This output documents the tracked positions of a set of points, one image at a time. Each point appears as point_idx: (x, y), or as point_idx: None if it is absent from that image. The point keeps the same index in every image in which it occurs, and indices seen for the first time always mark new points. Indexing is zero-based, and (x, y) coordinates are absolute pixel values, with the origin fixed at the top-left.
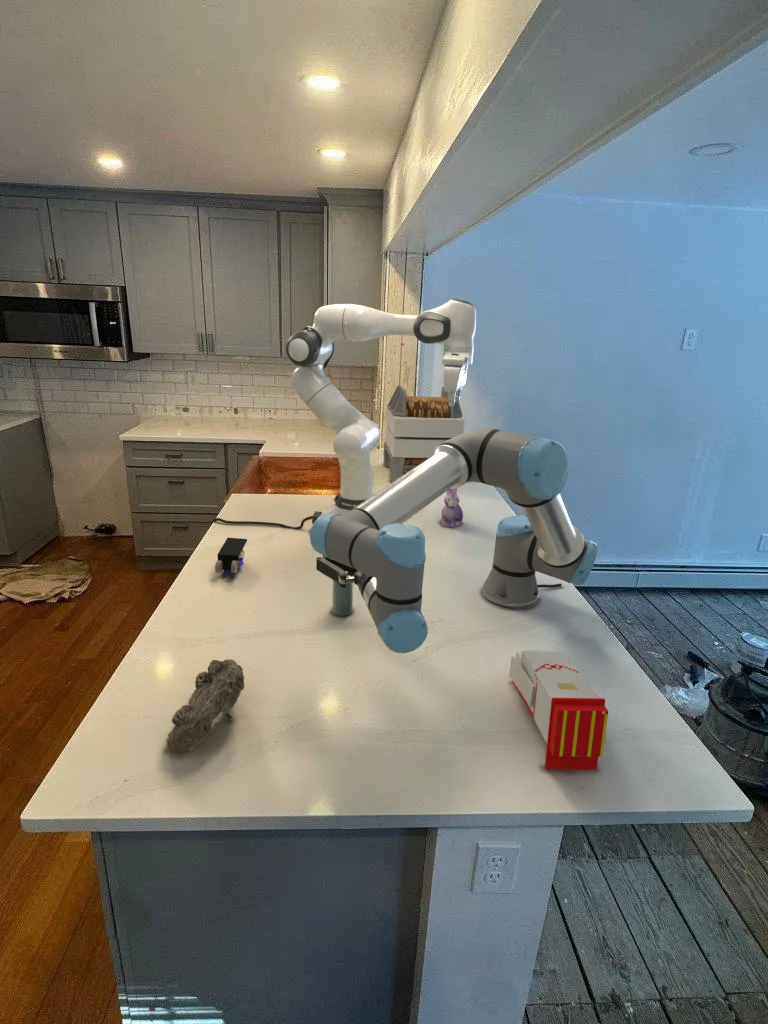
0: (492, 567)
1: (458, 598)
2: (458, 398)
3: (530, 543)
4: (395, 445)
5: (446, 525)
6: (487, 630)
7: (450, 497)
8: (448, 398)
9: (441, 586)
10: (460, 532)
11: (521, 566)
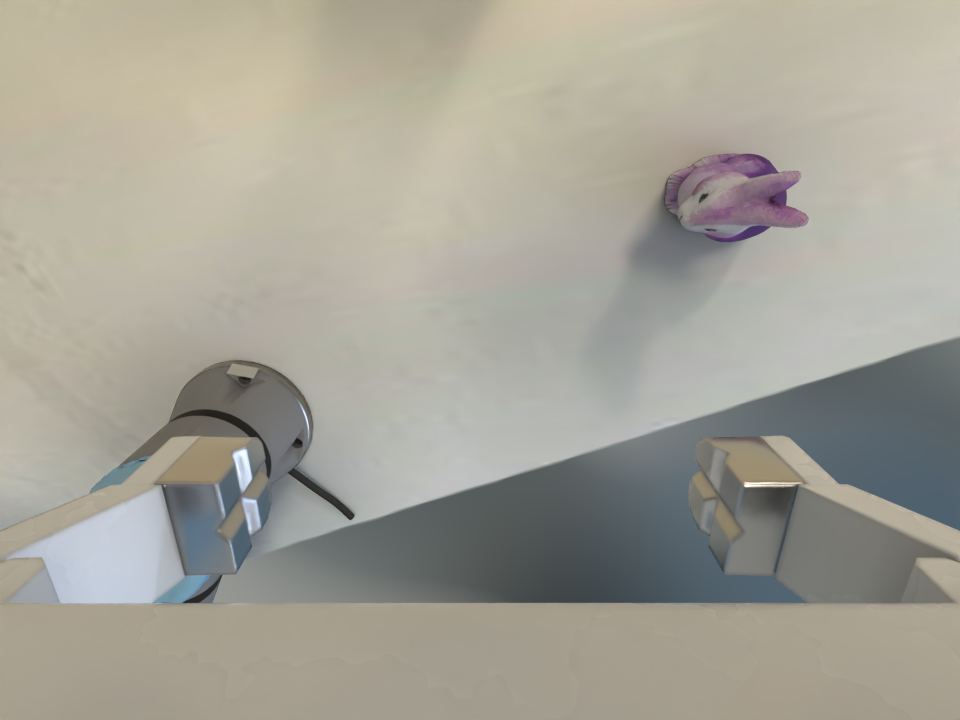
0: (202, 406)
1: (168, 308)
2: (711, 535)
3: None
4: None
5: (669, 186)
6: (64, 387)
7: (706, 204)
8: (70, 503)
9: (208, 255)
10: (629, 243)
11: None
